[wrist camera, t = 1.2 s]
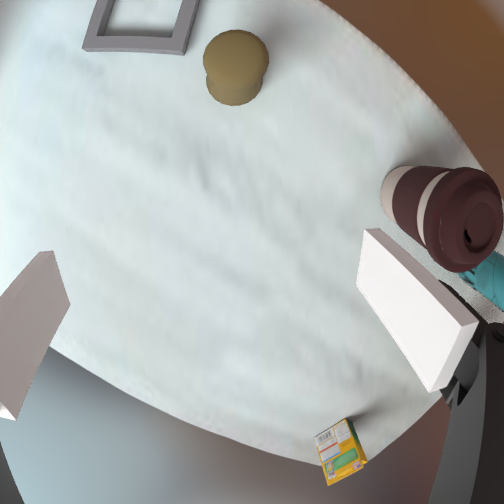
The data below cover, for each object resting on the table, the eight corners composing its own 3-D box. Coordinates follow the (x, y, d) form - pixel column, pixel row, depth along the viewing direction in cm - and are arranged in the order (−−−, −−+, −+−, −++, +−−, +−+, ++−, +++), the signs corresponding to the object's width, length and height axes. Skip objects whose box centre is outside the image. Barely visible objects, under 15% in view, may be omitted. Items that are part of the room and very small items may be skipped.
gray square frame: (87, 51, 27) (81, 48, 25) (115, -29, 23) (111, -35, 22) (184, 55, 29) (181, 51, 27) (209, -29, 25) (208, -35, 23)
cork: (201, 61, 29) (189, 28, 19) (256, 50, 29) (268, 14, 19) (212, 111, 31) (203, 98, 21) (267, 100, 31) (284, 83, 21)
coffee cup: (431, 152, 34) (515, 168, 20) (433, 225, 38) (508, 267, 24) (365, 159, 34) (441, 176, 20) (371, 238, 38) (438, 291, 24)
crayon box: (322, 441, 52) (335, 489, 41) (313, 437, 51) (326, 486, 40) (353, 422, 50) (371, 470, 40) (345, 417, 49) (363, 466, 39)
